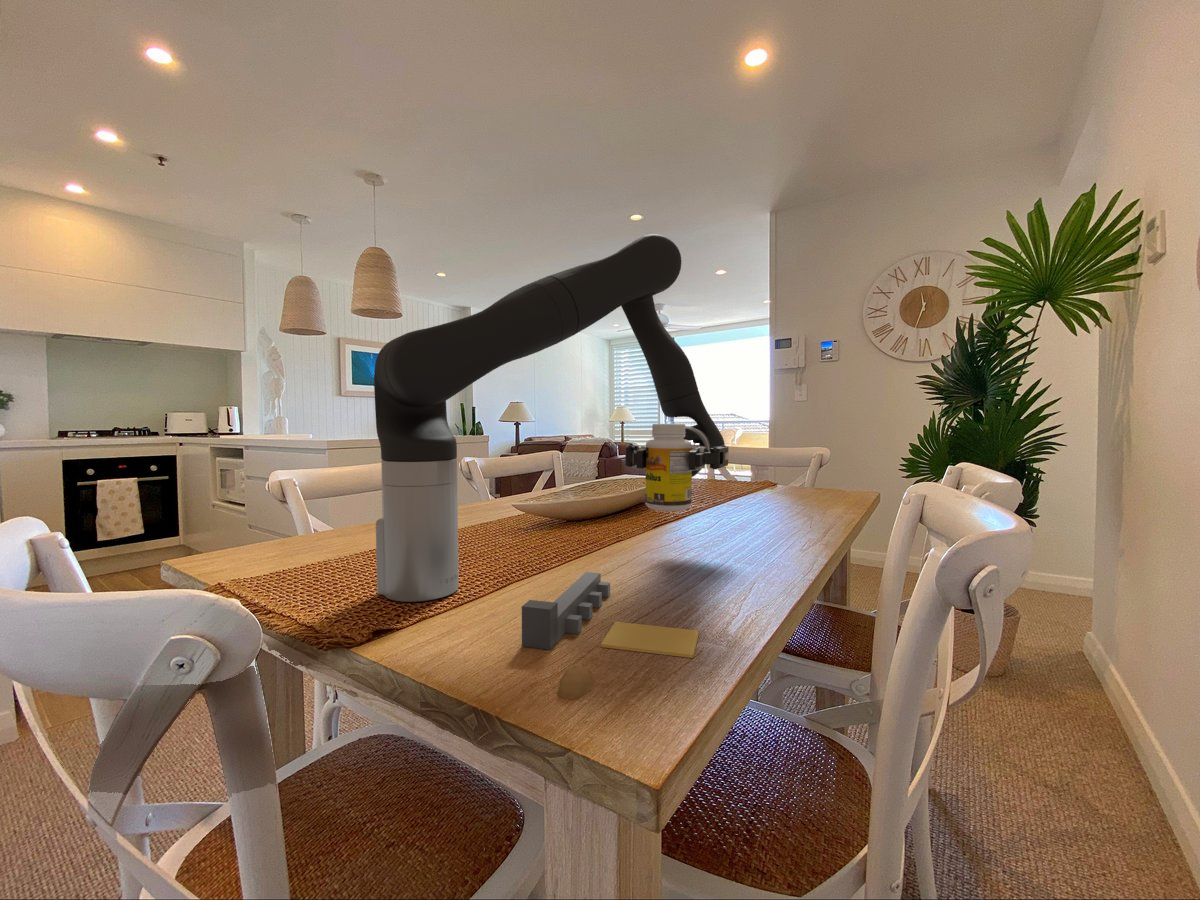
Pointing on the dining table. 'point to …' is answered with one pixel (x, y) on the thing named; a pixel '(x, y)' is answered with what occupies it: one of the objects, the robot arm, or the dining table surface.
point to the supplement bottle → (668, 469)
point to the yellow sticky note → (652, 639)
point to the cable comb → (562, 612)
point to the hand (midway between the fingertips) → (665, 460)
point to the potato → (575, 682)
